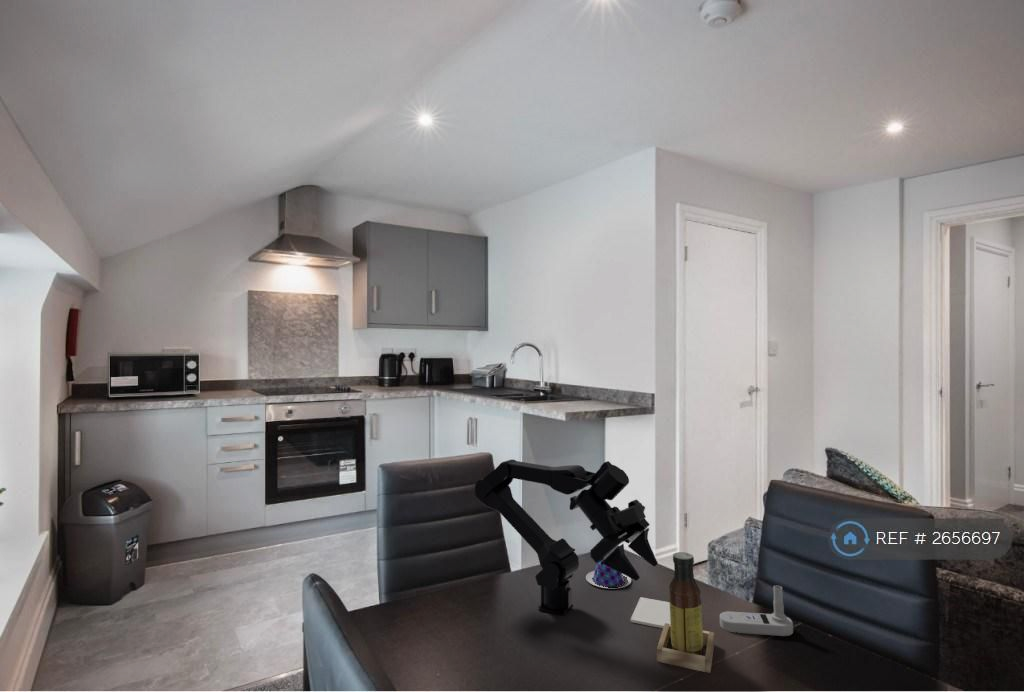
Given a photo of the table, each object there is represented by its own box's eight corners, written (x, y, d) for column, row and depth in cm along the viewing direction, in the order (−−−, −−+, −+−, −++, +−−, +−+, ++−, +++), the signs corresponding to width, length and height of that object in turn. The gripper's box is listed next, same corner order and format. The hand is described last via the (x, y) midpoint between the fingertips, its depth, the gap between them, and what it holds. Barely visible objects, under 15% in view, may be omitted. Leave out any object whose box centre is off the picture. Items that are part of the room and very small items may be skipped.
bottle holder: (656, 661, 109) (656, 648, 109) (665, 634, 119) (665, 623, 119) (710, 673, 105) (710, 660, 105) (714, 644, 115) (714, 632, 115)
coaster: (630, 622, 125) (630, 619, 125) (640, 599, 136) (640, 597, 136) (685, 632, 120) (685, 630, 120) (691, 608, 131) (691, 606, 131)
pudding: (586, 570, 154) (586, 552, 154) (630, 573, 152) (630, 554, 152) (584, 589, 142) (584, 569, 142) (632, 593, 140) (632, 572, 140)
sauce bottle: (704, 648, 114) (704, 552, 114) (701, 664, 108) (701, 563, 108) (672, 641, 116) (671, 547, 116) (667, 656, 111) (666, 558, 111)
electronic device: (716, 579, 126) (787, 582, 123) (718, 621, 126) (789, 626, 123) (720, 589, 121) (794, 593, 117) (722, 634, 121) (796, 639, 117)
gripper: (600, 500, 114) (653, 564, 107) (639, 482, 129) (688, 537, 122) (569, 532, 119) (618, 595, 112) (610, 511, 133) (656, 566, 126)
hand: (647, 572), depth 118 cm, fingers open, 9 cm apart
